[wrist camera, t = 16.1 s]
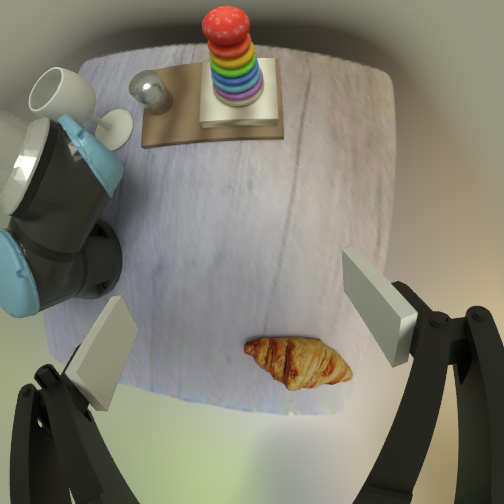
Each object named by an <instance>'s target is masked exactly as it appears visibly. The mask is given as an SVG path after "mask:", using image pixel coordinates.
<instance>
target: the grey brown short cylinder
mask: <svg viewBox="0 0 504 504" xmlns="http://www.w3.org/2000/svg"><path fill="white" fill-rule="evenodd" d="M129 92H130V94H131V95H132V96H133V97H134V98H135V99H136V100H137V101H138V102H139V103H140V104H141V105H142V106H143V107H144V108H145V109H146V110H147V111H148V112H149V113H150V114H152V115H162V114H164V113H166V112H167V111H168V110H169V109H170V108H171V107H172V104H173V96H172V95H171V93H170V92H169V90H168V89H167V87H166V86H165V84H164V83H163V81H162V80H161V78H160V77H159V76H158V74H157V73H156V72H155V71H152V70H146V71H143V72H140V73H139V74H137V75H136V76H135V77H134V78H133V79H132V80H131V82H130V85H129Z"/></svg>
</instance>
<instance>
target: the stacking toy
mask: <svg viewBox="0 0 504 504" xmlns="http://www.w3.org/2000/svg"><path fill="white" fill-rule="evenodd" d="M202 29H203V33H204V35H205V36H206V38H207V39H208V48H209V50H210V65H211V78H212V81H213V92H214V94H215V96H216V97H217V98H218V99H219V100H220V101H221V102H223V103H224V104H227V105H230V106H244V105H248V104H250V103H252V102H254V101H255V100H257V99H258V98H259V97H260V95H261V94H262V92H263V89H264V79H263V73H262V71H261V69H260V67H259V64H258V60H257V57H256V53H255V48H254V45H253V43H252V42H251V37H250V35H249V33H248V32H249V29H250V22H249V18H248V16H247V15H246V14H245V12H244V11H242V10H241V9H239V8H237V7H233V6H221V7H217V8H215V9H213V10H211V11H210V12H209V13H208V14H207V15H206V16H205V18H204V20H203V23H202Z"/></svg>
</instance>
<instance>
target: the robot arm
mask: <svg viewBox="0 0 504 504" xmlns="http://www.w3.org/2000/svg"><path fill="white" fill-rule="evenodd" d="M123 174H124V165H123V162H122V161H121V160H120V159H119V158H118V157H117V156H116V155H115V154H114V153H113V152H112V151H111V150H110V149H109V148H107V147H106V146H105V145H104V144H103V143H102V142H101V141H99V140H98V139H97V138H96V137H95V136H94V135H93V134H91V133H90V132H89V131H88V130H87V129H86V128H84V127H83V126H82V125H81V124H80V123H79V122H77V121H76V120H75V119H74V118H72V117H71V116H70V115H69V114H64V115H63V116H62V117H60V118H59V119H58V122H54V121H53V120H51V119H49V118H47V117H42V118H40V119H38V120H35V121H33V122H31V123H28V122H25V121H23V120H21V119H19V118H17V117H15V116H13V115H11V114H9V113H7V112H5V111H3V110H1V109H0V203H1V205H2V208H3V210H4V212H5V214H6V215H10V216H12V217H11V219H10V222H9V225H8V228H7V229H6V230H5V229H0V306H1V307H2V309H3V310H4V311H5V312H6V313H8V314H9V315H10V316H12V317H15V318H24V317H27V316H31V315H36V314H37V313H38V312H40V311H42V310H45V309H47V308H49V307H51V306H54V305H56V304H58V303H61V302H63V301H65V300H68V299H70V298H72V297H76V298H83V299H94V298H98V297H100V296H102V295H104V294H106V293H108V292H109V291H110V290H111V289H112V288H113V287H114V286H115V284H116V283H117V281H118V279H119V276H120V273H121V268H122V253H121V248H120V244H119V241H118V239H117V237H116V235H115V233H114V231H113V230H112V229H111V228H110V226H109V225H108V224H106V223H105V222H104V221H102V220H100V219H98V218H99V216H100V214H101V212H102V211H103V209H104V207H105V205H106V204H107V202H108V200H109V199H110V198H112V197H113V192H114V191H115V189H116V187H117V185H118V184H119V182H120V180H121V179H122V177H123ZM342 260H343V278H344V291H345V293H346V294H347V296H348V297H349V299H350V300H351V302H352V304H353V305H354V307H355V308H356V310H357V311H358V313H359V314H360V316H361V317H362V319H363V321H364V322H365V324H366V325H367V327H368V328H369V330H370V332H371V333H372V335H373V336H374V338H375V340H376V341H377V343H378V344H379V346H380V348H381V349H382V351H383V352H384V354H385V356H386V358H387V359H388V361H389V363H390V364H391V366H392V367H396V366H398V365H401V364H403V363H406V362H407V361H408V357H409V353H410V354H411V355H412V356H413V358H414V360H413V364H412V368H411V371H410V375H409V378H408V381H407V384H406V388H405V391H404V394H403V397H402V400H401V402H400V405H399V408H398V411H397V413H396V416H395V419H394V421H393V424H392V426H391V429H390V431H389V434H388V436H387V438H386V441H385V443H384V445H383V447H382V449H381V452H380V454H379V456H378V458H377V460H376V462H375V464H374V466H373V468H372V470H371V472H370V474H369V476H368V478H367V479H366V481H365V483H364V485H363V486H362V488H361V490H360V492H359V493H358V495H357V497H356V499H355V500H354V502H353V503H352V504H410V503H411V500H412V496H413V494H412V491H413V488H414V485H415V483H416V481H417V478H418V476H419V473H420V471H421V468H422V465H423V462H424V460H425V457H426V454H427V451H428V448H429V445H430V442H431V439H432V436H433V432H434V428H435V425H436V421H437V417H438V414H439V409H440V405H441V401H442V396H443V391H444V385H445V380H446V374H447V368H448V365H453V370H454V377H455V386H456V395H457V408H458V426H459V427H458V429H459V454H458V473H457V484H456V494H455V501H454V504H504V346H503V343H502V340H501V338H500V335H499V333H498V330H497V327H496V324H495V322H494V319H493V317H492V315H491V313H490V311H489V310H487V309H486V308H484V307H482V306H472V307H470V308H469V309H468V310H467V312H466V315H465V317H462V318H454V319H451V318H450V317H449V316H448V315H447V314H445V313H443V312H439V311H437V312H436V311H432V310H431V309H430V308H429V307H428V306H427V305H426V304H425V303H424V302H423V301H422V300H421V299H420V298H419V297H418V296H417V295H416V293H415V292H413V290H412V289H411V288H410V287H408V286H407V285H406V284H404V283H402V282H399V281H397V282H394V283H390V282H389V281H388V280H387V279H386V278H385V277H384V276H383V275H382V274H381V273H380V272H379V271H378V270H377V269H376V268H375V267H374V266H373V265H372V264H371V263H370V262H369V261H368V260H367V259H366V258H365V257H364V256H363V255H362V254H361V253H360V252H359V251H358V250H357V249H356V248H355V247H350V248H345V249H342ZM138 331H139V330H138V328H137V326H136V324H135V322H134V320H133V318H132V316H131V314H130V312H129V310H128V308H127V306H126V304H125V302H124V299H123V297H122V295H119V296H113V297H111V298H110V300H109V301H108V303H107V304H106V306H105V307H104V309H103V310H102V312H101V313H100V315H99V317H98V318H97V320H96V321H95V323H94V324H93V326H92V327H91V329H90V331H89V332H88V334H87V336H86V337H85V339H84V340H83V342H82V343H81V344H80V345H79V346H78V347H77V348H76V350H75V351H74V353H73V355H72V356H71V358H70V361H69V362H68V363H67V365H66V367H65V369H64V370H63V372H62V374H61V376H60V375H59V373H58V372H57V371H56V369H55V368H54V367H53V365H51V364H46V365H43V366H42V367H40V368H39V369H38V370H37V372H36V373H35V376H34V379H35V380H36V381H37V383H38V384H39V385H40V386H41V388H42V389H41V390H37V389H36V387H35V386H34V385H33V384H27V385H24V386H23V387H22V388H21V390H20V391H19V394H18V399H17V405H16V410H15V416H14V423H13V431H12V441H11V453H10V499H11V504H72V502H71V498H70V491H71V493H72V496H73V498H74V500H75V504H140V503H139V502H138V500H137V499H136V497H135V496H134V494H133V493H132V491H131V490H130V488H129V486H128V485H127V483H126V481H125V480H124V478H123V476H122V475H121V473H120V471H119V469H118V468H117V466H116V464H115V462H114V460H113V458H112V457H111V455H110V453H109V451H108V449H107V447H106V445H105V443H104V441H103V438H102V436H101V434H100V432H99V430H98V428H97V425H96V423H95V421H94V418H93V416H92V414H91V412H90V411H89V409H87V408H88V405H89V403H90V404H91V406H92V407H93V408H94V409H95V410H97V411H108V408H109V405H110V402H111V400H112V397H113V394H114V392H115V389H116V386H117V384H118V381H119V378H120V376H121V373H122V370H123V368H124V365H125V363H126V360H127V358H128V355H129V353H130V350H131V348H132V346H133V343H134V341H135V338H136V336H137V334H138ZM38 420H39V421H40V422H41V423H42V427H40V426H39V424H38ZM69 488H70V491H69Z"/></svg>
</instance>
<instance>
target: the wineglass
mask: <svg viewBox="0 0 504 504" xmlns="http://www.w3.org/2000/svg"><path fill="white" fill-rule="evenodd" d="M95 103H96V95H95V91H94V89H93V87H92V86H91V85H90V84H89V82H87V81H86V80H85V79H84V78H83V77H81V76H80V75H78V74H76V73H74V72H72V71H69V70H66V69H63V68H58V67H55V68H52V69H50V70H48V71H47V72H45V73H44V74H43V75H42V76H41V77H40V78H39V80H38V81H37V82H36V84H35V85H34V87H33V89H32V91H31V94H30V98H29V107H30V109H31V111H32V112H34V114H36V115H37V116H38V117H39V118H42V117H47V118H49V119H51V120H53V121H54V122H58V119H59V118H60V117H62V116H63V115H64V114H69V115H70V116H71V117H72V118H74V119H75V120H76V121H77V122H79V123H80V124H81V125H82V124H83V123H85V122H86V121H87V120H88V119H91V120H93V121H94V122H96V123H98V125H97V128H96V131H95V137H96V138H97V139H98V140H99V141H101V142H102V143H103V144H104V145H105V146H106V147H107V148H109V149H110V150H111V151H114V150H116V149H118V148H120V147H121V146H122V145H123V144H124V143H125V142H126V141H127V140H128V138H129V136H130V134H131V132H132V128H133V119H132V116H131V115H130V113H129V112H127V111H126V110H123V109H117V110H113V111H111V112H109V113H108V114H106V115H105V116H104V117H103V118H102V119H100V118H99V117H97V116H96V115H94V114H93V111H94V108H95Z"/></svg>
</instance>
